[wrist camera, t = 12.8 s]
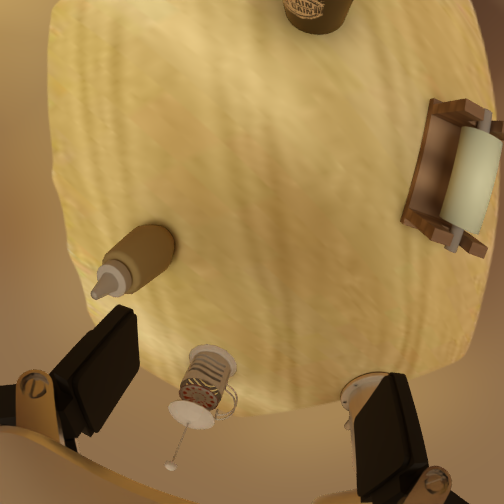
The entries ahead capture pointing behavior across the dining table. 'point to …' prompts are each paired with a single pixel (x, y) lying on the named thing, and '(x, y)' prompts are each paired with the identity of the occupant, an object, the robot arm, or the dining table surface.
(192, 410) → the french press
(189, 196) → the dining table surface
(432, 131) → the holder
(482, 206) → the roll
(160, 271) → the squeeze bottle
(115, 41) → the dining table surface
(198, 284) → the dining table surface
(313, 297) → the dining table surface
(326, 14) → the water bottle
